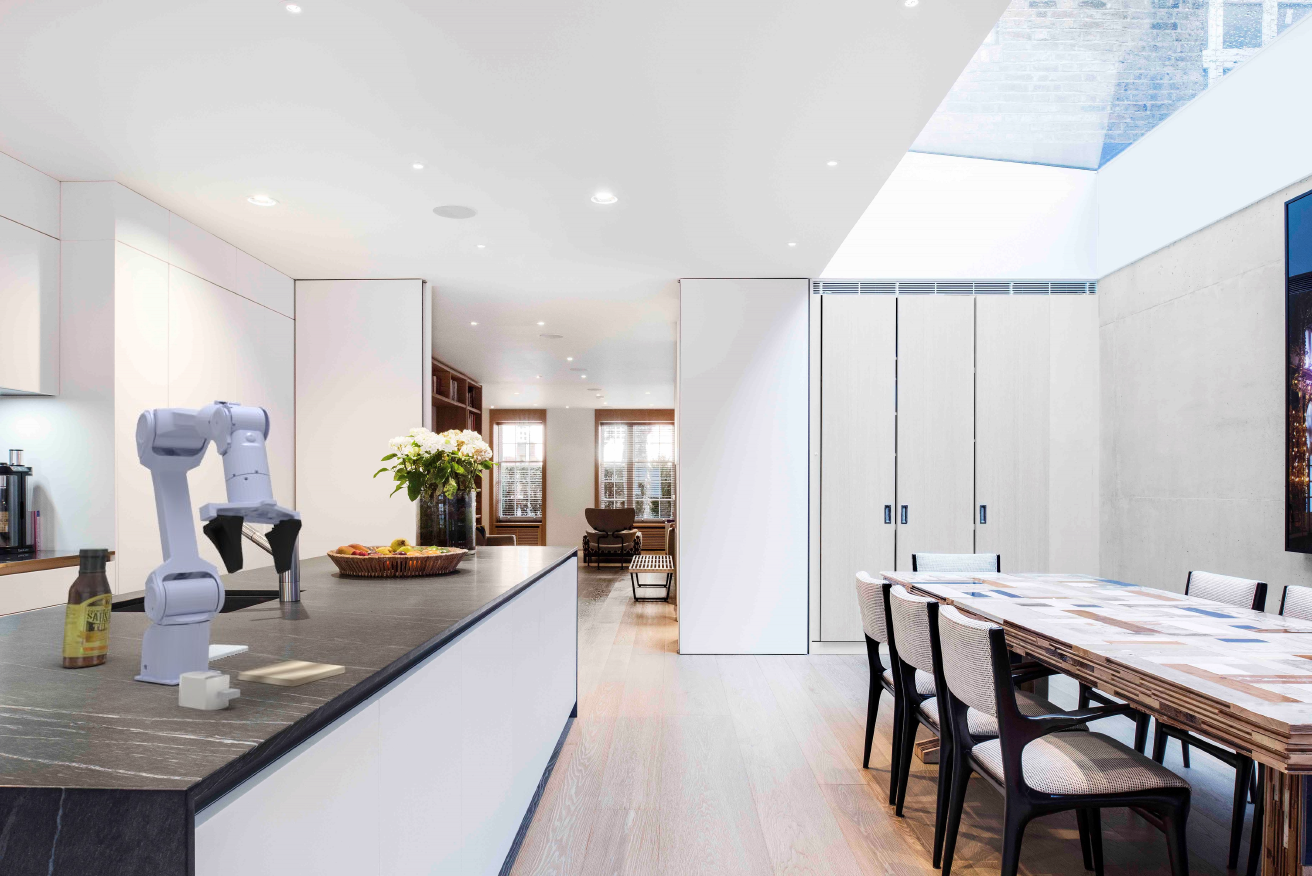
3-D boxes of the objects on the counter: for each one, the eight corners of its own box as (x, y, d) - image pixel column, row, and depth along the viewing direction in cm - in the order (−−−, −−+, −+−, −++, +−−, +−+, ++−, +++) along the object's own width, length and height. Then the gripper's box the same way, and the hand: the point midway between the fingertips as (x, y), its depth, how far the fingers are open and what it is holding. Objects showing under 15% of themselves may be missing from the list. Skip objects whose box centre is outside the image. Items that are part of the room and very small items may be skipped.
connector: (173, 704, 102) (174, 675, 102) (194, 699, 105) (195, 670, 105) (222, 712, 98) (224, 682, 98) (243, 707, 101) (244, 677, 101)
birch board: (238, 679, 116) (238, 672, 116) (291, 666, 125) (292, 660, 125) (292, 686, 111) (293, 680, 112) (344, 672, 121) (345, 666, 121)
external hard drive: (248, 654, 138) (194, 669, 126) (210, 653, 140) (154, 667, 128) (248, 645, 138) (195, 659, 126) (211, 644, 140) (154, 657, 128)
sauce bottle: (88, 669, 124) (95, 549, 125) (51, 669, 124) (59, 549, 125) (117, 660, 130) (123, 547, 132) (82, 660, 130) (89, 547, 132)
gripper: (220, 463, 99) (232, 560, 95) (309, 477, 112) (323, 562, 108) (185, 483, 101) (195, 578, 97) (276, 494, 114) (289, 578, 110)
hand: (260, 571), depth 103 cm, fingers open, 7 cm apart
